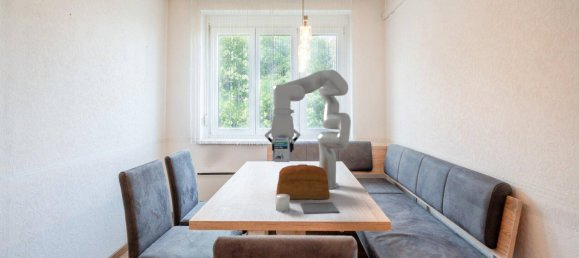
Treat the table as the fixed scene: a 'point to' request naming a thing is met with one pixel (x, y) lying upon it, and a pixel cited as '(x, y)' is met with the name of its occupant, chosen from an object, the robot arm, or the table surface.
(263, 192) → the table surface
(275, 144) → the light bulb box
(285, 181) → the bread
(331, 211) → the slate trivet
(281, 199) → the white capsule cylinder
